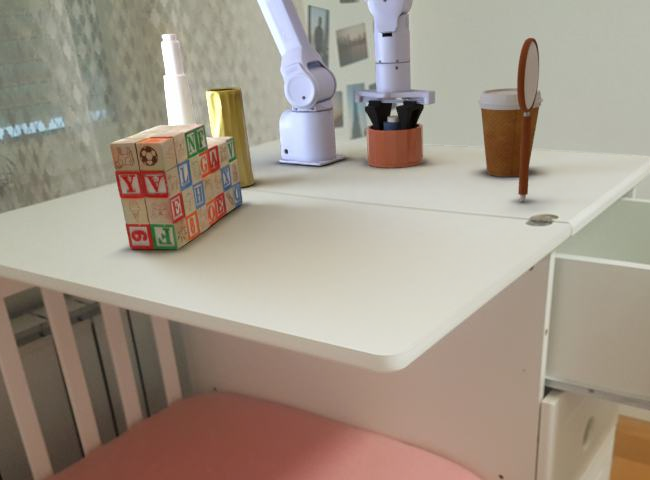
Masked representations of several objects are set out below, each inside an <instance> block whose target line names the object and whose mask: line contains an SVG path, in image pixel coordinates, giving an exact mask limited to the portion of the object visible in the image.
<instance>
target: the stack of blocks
mask: <svg viewBox="0 0 650 480" xmlns="http://www.w3.org/2000/svg"><path fill="white" fill-rule="evenodd" d="M109 147H110V152H111V156H112V162H113V166H114V170H115V171H114V174H115V175H114V176H115V181H116V186H117V190H118V194H119V195H118V196H119V198H120V202H121V208H122V212H123V216H124V222H125V229H126V234H127V239H128V244H129V248H130V249H131V250H180V249H181V248H182V247H183V246H185V245H187V244H188V243H189V242H191V241H192V240H194V239H195V238H196V237H198V236H199V235H201V234H202V233H203V232H205V231H206V230H208V229H210V227H211V226H212V225H213V224H215V223H216V222H218V221H219V220H220V219H221V218H223V217H224V216H225V215H226V214H228V213H230V212H232V211H233V210H234V209H236V208H238V206H240V205H241V204H243V201H244V200H243V195H242V188H241V185H240V176H239V168H238V161H237V159H236V151H235V143H234V137H212V136H210V137H208V136H207V133H206V127H205V123H196V124H191V125H169V124H160V125H156V126H153V127H151V128H148V129H145V130H142V131H140V132H138V133H135V134H133V135H129V136H127V137H125V138H121V139H118V140H115V141H112V142H110V143H109Z"/></svg>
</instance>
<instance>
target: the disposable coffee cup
mask: <svg viewBox="0 0 650 480" xmlns="http://www.w3.org/2000/svg"><path fill="white" fill-rule="evenodd" d="M542 102H544V99H543V98H542V94H541V90H540V89H538V88H537V94H536V99H535V102H534V105H533V108H532V110H531V111H530V116H531V136H530V156H529V164H530V163H531V158H532V157H531V156H532V151H533V147H534V140H535V134H536V130H537V129H536V128H537V122H538V117H539V111H540V107H541V106H542ZM477 103H478V105H479V108H480V112H481V122H482V133H483V145H484V154H485V164H486V173H487V174H488V175H490V176H494V177H505V178H507V177H509V178H510V177H519V169H520V146H521V124H522V116H524V112H522V111H521V110H520V107H519V103H518V95H517V87H511V88H510V87H509V88H495V89H487V90H482V91H481V93H480V97H479V99H478V101H477Z"/></svg>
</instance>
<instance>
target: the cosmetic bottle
mask: <svg viewBox="0 0 650 480" xmlns="http://www.w3.org/2000/svg"><path fill="white" fill-rule="evenodd" d="M177 37H178V36H177V34H176V33H165V34H164V33H163V34H162V35H161V38H162V41H161V42H160V44H161V45H160V46H161V51H162V58H163V63H164V71H165V75H163V83H164V93H165V102H166V103H165V104H166V112H167V120H168V125H191V124H197V119H196V115H195V109H194V104H193V97H192V93H191V88H190V82H189V78H188V74H187V73H185V71H184V63H183V56H182V49H181V44H180V41H179V40H178V39H177Z"/></svg>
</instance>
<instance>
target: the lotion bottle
mask: <svg viewBox="0 0 650 480" xmlns="http://www.w3.org/2000/svg"><path fill="white" fill-rule="evenodd" d="M387 119H388V121H384V122H383V124H384V130H400V124H399V118H398V114H396V115H395V114H394V115H390V116H388V117H387Z"/></svg>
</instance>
